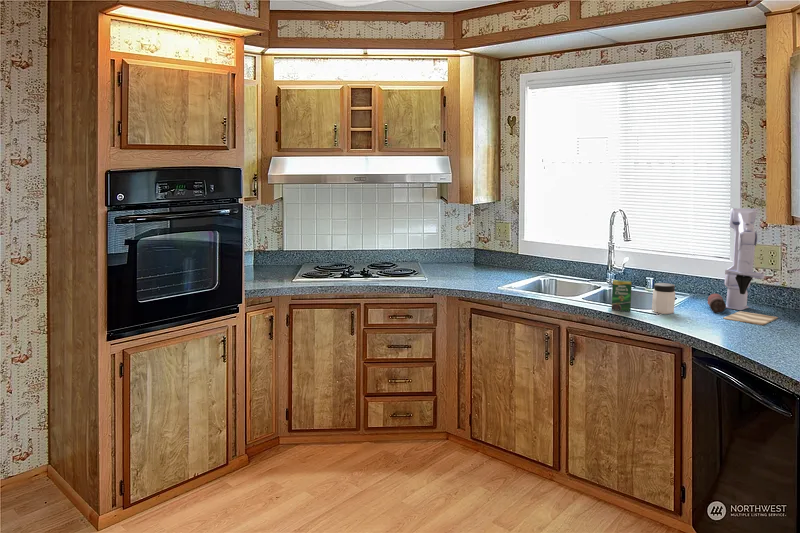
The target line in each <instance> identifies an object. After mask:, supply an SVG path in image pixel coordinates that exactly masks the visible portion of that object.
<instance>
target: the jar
mask: <svg viewBox="0 0 800 533" xmlns="http://www.w3.org/2000/svg"><path fill="white" fill-rule="evenodd" d="M653 285H654V286H653V290H652V299H651V300H652V301H651V311H652V310H654V311H655V312H658V313H657V314H662V315H671V314H674V313H675V302H676V291H675V288H676V285H675V284H673V283H667V282H656V283H654V284H653ZM655 312H654V313H655Z"/></svg>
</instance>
